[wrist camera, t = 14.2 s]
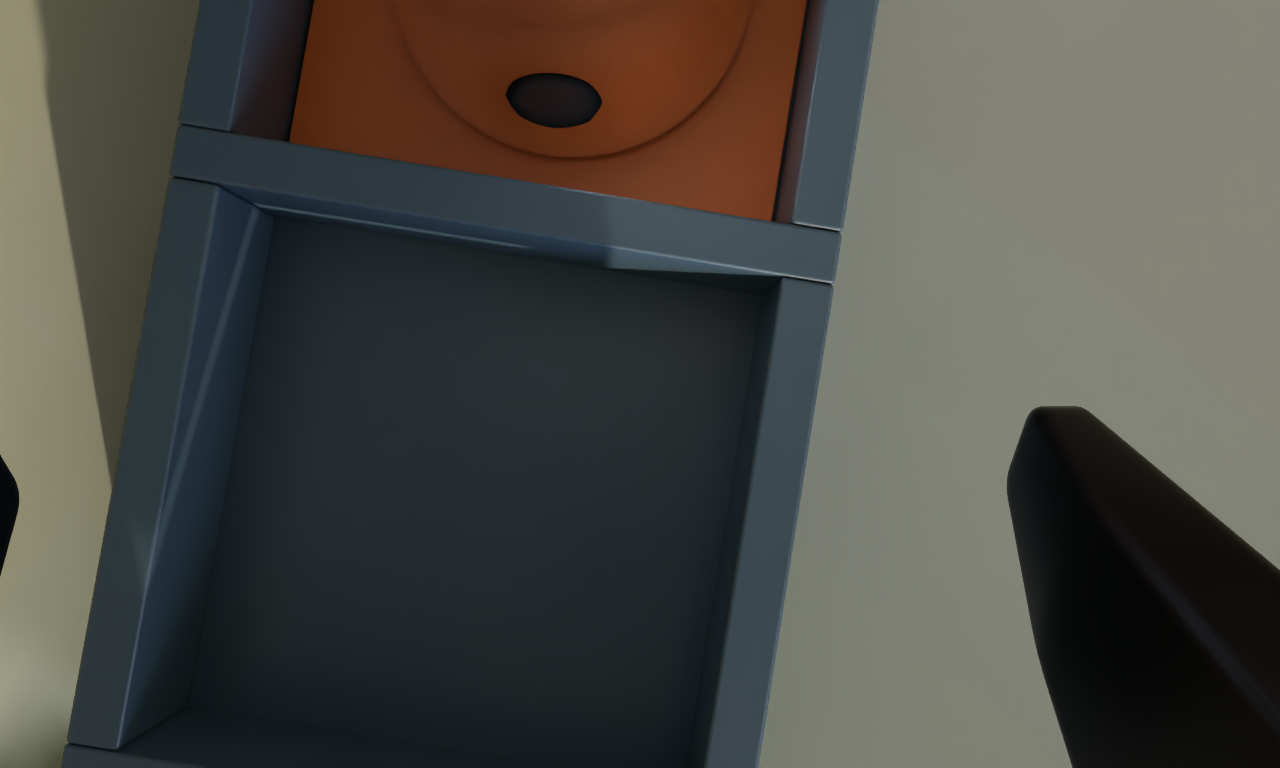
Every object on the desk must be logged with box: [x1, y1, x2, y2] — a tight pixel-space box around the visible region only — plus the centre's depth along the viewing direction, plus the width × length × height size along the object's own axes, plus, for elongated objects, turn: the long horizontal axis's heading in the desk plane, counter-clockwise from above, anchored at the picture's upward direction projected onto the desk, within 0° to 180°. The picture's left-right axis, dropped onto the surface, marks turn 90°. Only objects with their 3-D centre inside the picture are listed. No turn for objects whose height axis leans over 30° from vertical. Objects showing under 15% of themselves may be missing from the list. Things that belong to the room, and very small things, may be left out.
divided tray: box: [61, 0, 879, 768], centre depth 17 cm, size 19×10×3 cm, turn 171°
